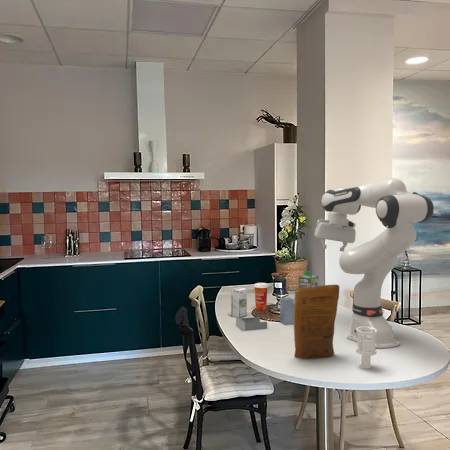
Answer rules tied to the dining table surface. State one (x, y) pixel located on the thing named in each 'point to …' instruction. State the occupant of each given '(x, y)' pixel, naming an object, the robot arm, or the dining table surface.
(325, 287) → the pancake mix bag
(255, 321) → the channel bracket
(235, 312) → the syrup box
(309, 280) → the chalk box
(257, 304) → the paper cup
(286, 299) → the block
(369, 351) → the white stepped cylinder
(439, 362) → the dining table surface
